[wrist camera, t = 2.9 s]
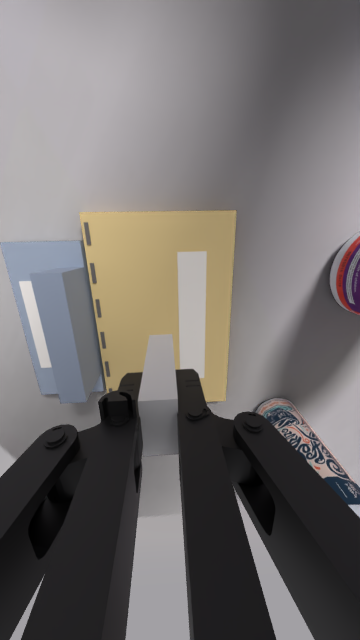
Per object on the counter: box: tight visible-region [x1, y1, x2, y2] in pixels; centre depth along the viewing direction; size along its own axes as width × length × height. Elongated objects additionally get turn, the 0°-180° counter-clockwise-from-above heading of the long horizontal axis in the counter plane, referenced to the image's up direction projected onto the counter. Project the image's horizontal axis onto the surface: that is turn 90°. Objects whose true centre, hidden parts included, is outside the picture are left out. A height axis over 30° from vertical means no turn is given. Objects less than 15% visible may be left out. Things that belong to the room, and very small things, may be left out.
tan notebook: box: [79, 210, 237, 402], centre depth 20 cm, size 18×12×1 cm, turn 1°
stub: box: [0, 241, 106, 404], centre depth 18 cm, size 14×6×5 cm, turn 1°
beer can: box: [255, 398, 360, 517], centre depth 20 cm, size 5×5×12 cm
